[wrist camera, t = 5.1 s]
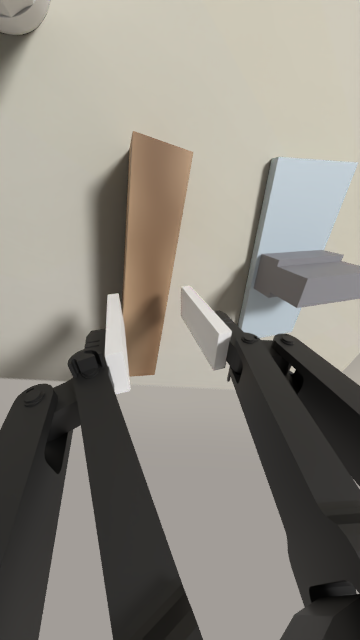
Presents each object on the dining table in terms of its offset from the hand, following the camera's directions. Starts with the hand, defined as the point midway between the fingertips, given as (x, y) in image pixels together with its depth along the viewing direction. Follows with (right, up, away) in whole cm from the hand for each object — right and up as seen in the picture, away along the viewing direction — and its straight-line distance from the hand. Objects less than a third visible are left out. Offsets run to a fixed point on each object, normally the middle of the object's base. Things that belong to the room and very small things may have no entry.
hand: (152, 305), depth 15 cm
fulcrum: (+16, +6, +10) cm, 20 cm away
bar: (-2, +4, +6) cm, 8 cm away
